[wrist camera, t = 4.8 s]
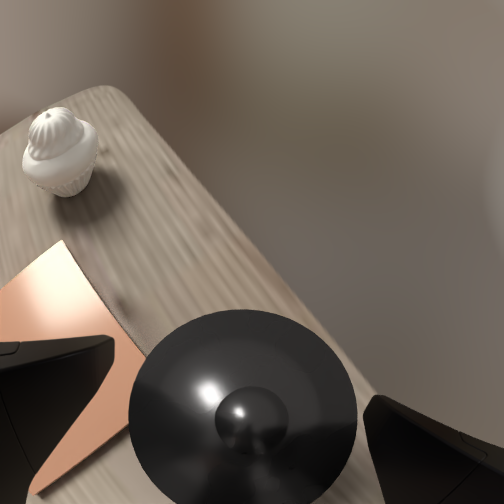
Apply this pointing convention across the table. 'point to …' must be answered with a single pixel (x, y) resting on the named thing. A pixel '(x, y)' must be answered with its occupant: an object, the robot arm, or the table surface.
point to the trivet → (67, 326)
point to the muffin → (60, 152)
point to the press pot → (242, 412)
